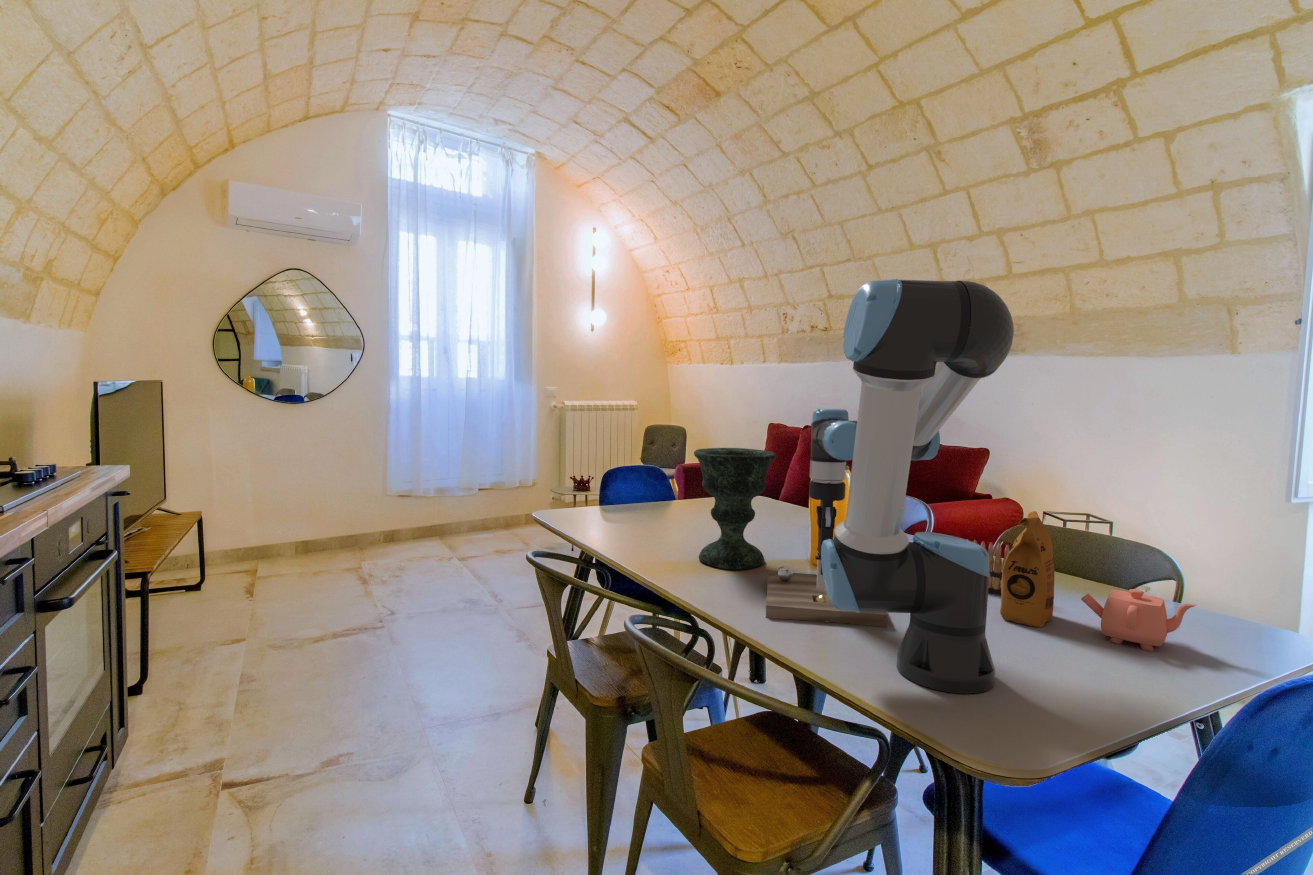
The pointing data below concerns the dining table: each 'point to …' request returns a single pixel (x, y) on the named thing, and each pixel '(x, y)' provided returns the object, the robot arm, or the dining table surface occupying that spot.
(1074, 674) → the dining table surface
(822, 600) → the brass ball
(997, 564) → the ammunition clip
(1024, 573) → the coffee package
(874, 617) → the hole plate
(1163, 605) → the teapot
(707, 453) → the goblet
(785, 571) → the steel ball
